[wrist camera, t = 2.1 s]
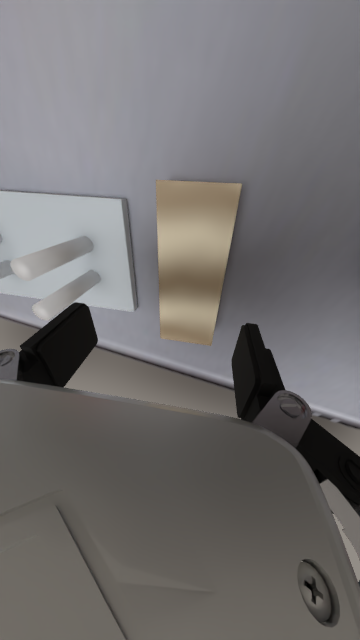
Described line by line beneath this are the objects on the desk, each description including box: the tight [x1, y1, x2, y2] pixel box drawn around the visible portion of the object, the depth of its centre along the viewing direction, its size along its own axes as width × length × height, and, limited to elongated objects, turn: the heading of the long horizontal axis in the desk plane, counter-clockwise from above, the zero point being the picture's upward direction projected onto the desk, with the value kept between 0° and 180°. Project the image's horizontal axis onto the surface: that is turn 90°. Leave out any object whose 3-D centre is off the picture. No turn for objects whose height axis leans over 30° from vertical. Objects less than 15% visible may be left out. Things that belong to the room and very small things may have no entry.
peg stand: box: [0, 190, 138, 321], centre depth 18 cm, size 20×12×9 cm, turn 87°
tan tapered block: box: [156, 180, 242, 346], centre depth 19 cm, size 15×6×4 cm, turn 178°
